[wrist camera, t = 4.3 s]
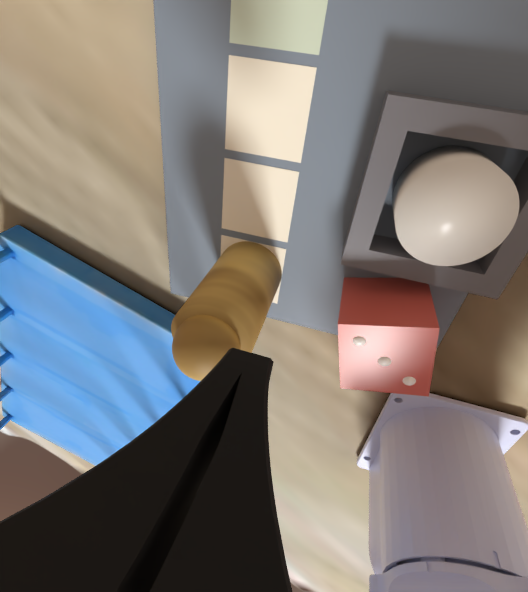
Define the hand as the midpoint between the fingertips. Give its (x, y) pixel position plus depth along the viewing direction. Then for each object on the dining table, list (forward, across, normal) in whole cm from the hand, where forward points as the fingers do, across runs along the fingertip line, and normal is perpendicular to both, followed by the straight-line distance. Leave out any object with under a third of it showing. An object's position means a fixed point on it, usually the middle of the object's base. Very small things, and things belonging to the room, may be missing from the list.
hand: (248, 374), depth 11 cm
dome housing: (+9, -6, -4) cm, 12 cm away
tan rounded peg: (+9, +2, +2) cm, 9 cm away
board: (+9, -1, -4) cm, 10 cm away
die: (+9, -5, +2) cm, 10 cm away
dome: (+8, -6, -4) cm, 11 cm away
